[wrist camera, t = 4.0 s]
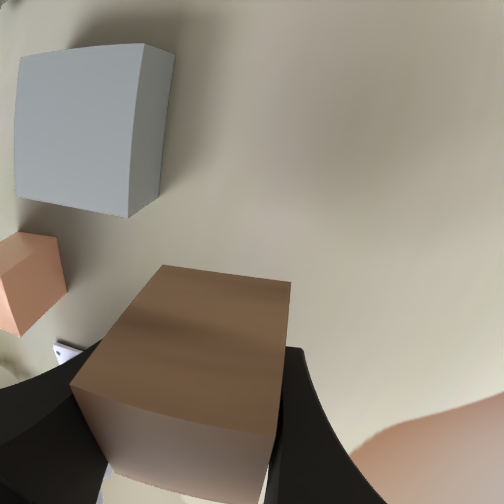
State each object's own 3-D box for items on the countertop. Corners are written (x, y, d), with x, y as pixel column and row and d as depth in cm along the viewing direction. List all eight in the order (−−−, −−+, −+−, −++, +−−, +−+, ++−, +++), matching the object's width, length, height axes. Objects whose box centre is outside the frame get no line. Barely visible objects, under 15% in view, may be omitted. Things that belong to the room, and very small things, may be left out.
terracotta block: (67, 291, 22) (20, 337, 16) (29, 281, 22) (-17, 320, 17) (56, 237, 20) (0, 276, 15) (18, 231, 20) (-36, 265, 15)
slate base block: (160, 195, 18) (127, 218, 14) (56, 179, 18) (15, 196, 15) (177, 55, 14) (144, 42, 11) (63, 60, 15) (20, 57, 11)
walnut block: (275, 375, 13) (256, 508, 7) (170, 357, 13) (115, 473, 8) (290, 282, 11) (275, 435, 5) (162, 264, 11) (69, 384, 6)
